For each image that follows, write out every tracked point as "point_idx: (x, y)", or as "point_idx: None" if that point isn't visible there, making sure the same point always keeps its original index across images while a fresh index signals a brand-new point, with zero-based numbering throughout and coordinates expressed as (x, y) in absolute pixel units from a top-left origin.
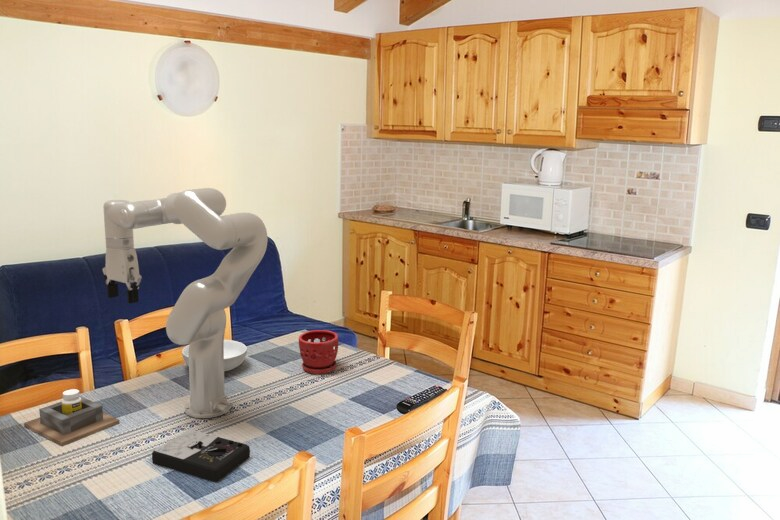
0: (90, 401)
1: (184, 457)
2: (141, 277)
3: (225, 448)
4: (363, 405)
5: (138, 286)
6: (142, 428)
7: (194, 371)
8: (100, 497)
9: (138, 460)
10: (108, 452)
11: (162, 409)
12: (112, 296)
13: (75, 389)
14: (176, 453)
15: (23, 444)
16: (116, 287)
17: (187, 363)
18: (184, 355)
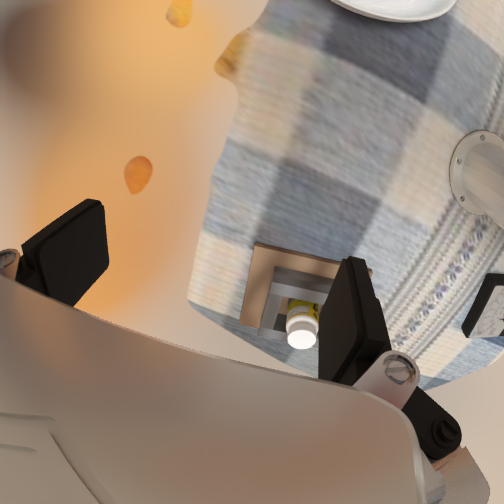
0: (315, 293)
1: (498, 333)
2: (488, 489)
3: None
4: None
5: (428, 399)
6: (416, 270)
7: None
8: (433, 376)
9: (445, 329)
10: (404, 331)
11: (412, 199)
12: (104, 249)
13: (300, 331)
14: (491, 332)
15: (285, 348)
16: (60, 249)
17: (348, 9)
18: (341, 2)
